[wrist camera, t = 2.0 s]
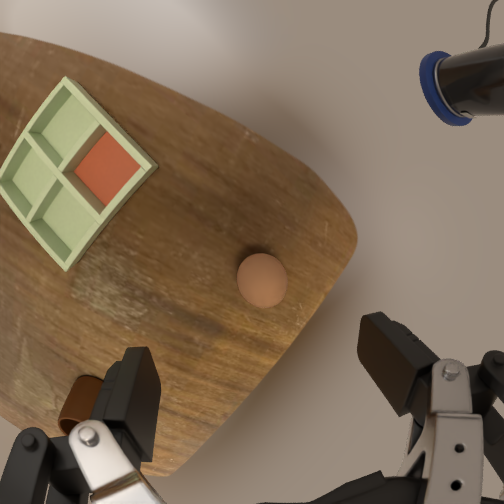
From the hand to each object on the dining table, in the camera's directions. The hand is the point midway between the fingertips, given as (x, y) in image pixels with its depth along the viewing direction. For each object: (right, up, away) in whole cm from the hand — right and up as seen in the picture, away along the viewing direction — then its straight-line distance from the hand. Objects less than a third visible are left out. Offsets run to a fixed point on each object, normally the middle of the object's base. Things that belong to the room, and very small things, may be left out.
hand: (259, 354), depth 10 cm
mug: (-24, -20, +27) cm, 41 cm away
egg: (0, +2, +23) cm, 23 cm away
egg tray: (-21, +13, +17) cm, 30 cm away
